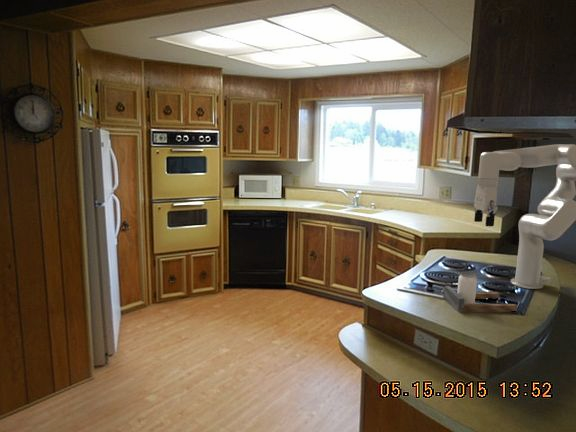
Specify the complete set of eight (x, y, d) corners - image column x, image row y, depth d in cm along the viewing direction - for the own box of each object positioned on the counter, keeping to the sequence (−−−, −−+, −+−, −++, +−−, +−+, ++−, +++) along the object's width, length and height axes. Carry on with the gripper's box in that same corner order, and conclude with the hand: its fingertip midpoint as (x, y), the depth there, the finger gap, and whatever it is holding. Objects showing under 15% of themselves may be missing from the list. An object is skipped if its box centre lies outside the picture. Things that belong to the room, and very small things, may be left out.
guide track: (497, 298, 173) (498, 286, 173) (516, 312, 160) (518, 299, 159) (443, 298, 173) (444, 286, 172) (457, 311, 159) (459, 298, 158)
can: (472, 309, 161) (475, 278, 159) (454, 305, 165) (457, 275, 163) (476, 304, 167) (479, 274, 164) (458, 300, 170) (461, 271, 168)
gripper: (469, 180, 185) (465, 219, 188) (489, 184, 168) (484, 227, 171) (486, 180, 185) (482, 220, 188) (508, 185, 168) (503, 228, 171)
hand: (483, 223), depth 179 cm, fingers open, 9 cm apart
